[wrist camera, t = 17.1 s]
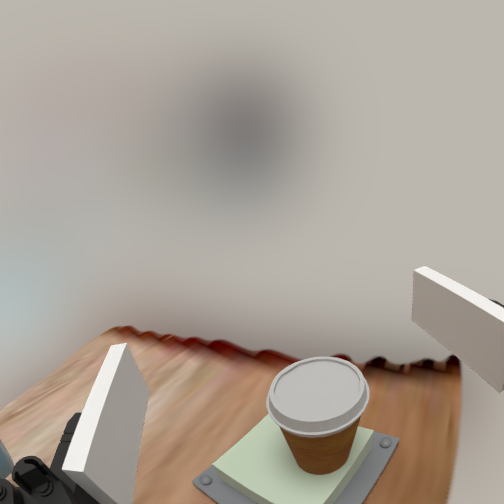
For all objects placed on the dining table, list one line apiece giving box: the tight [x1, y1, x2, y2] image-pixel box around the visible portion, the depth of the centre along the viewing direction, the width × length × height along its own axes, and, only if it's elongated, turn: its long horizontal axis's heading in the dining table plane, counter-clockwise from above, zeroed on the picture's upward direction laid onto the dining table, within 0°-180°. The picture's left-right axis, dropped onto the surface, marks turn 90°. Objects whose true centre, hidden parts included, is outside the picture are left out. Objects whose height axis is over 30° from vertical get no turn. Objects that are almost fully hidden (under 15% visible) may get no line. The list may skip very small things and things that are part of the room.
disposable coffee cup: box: [267, 357, 369, 475], centre depth 26 cm, size 10×10×12 cm
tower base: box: [191, 414, 400, 504], centre depth 29 cm, size 20×20×6 cm
